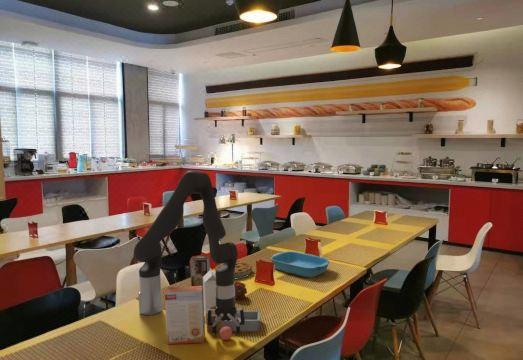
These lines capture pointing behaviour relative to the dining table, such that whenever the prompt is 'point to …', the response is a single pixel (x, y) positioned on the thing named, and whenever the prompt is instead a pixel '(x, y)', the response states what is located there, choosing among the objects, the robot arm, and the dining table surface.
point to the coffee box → (199, 269)
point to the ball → (226, 333)
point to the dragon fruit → (240, 290)
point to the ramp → (219, 324)
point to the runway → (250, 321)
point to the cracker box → (185, 315)
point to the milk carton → (209, 290)
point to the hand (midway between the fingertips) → (226, 334)
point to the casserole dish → (300, 263)
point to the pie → (239, 269)
